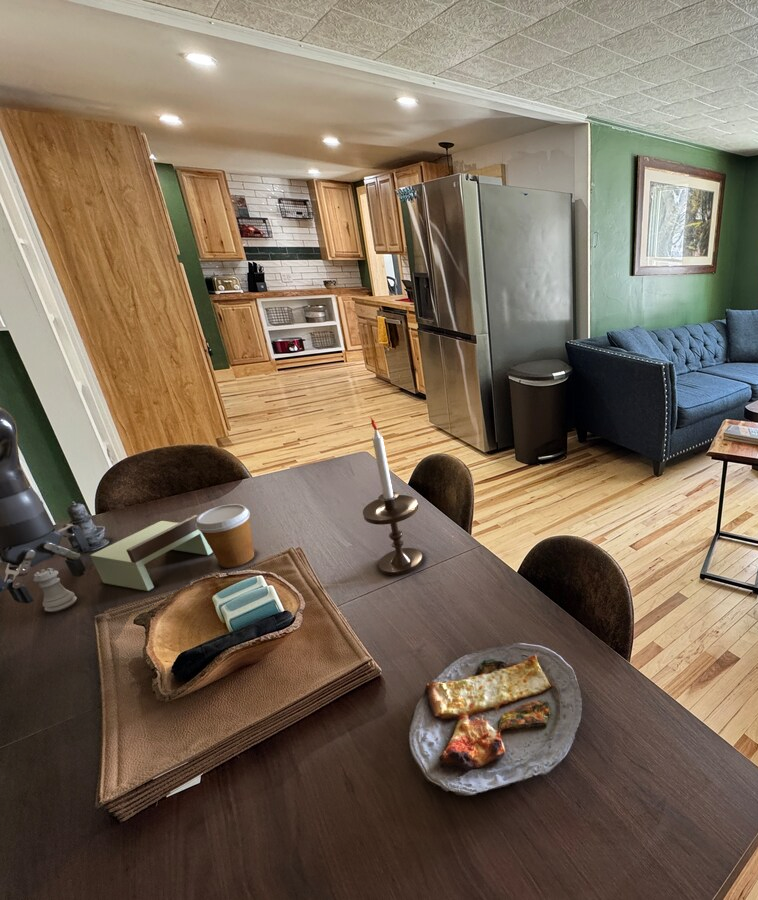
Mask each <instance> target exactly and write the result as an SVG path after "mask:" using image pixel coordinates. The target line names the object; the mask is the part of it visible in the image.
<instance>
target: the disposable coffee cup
mask: <svg viewBox="0 0 758 900" xmlns="http://www.w3.org/2000/svg"><path fill="white" fill-rule="evenodd" d="M198 515H199V516H198V517H197V523H196V528H197V529H198V530H199V531H201V532H202V534H203V536H204V538H205V539H206V541H207V543H208V544H209V546H210V548H211V549H212V552H213V555H214V556H215V559H216V560H217V561H218V563H219V566H220V567H222V568H235V567H240V566H242V565H244V564H246V563H248V562H249V561H251V560H252V559H253V558H254V557H255V551H254V544H253V537H252V536H253V535H252V530H251V529H252V528H251V523H250V515H251V511H250V510H249V509H248V508H247V507H246V506H245V505H243V504H240V503H229V504H223V505H219V506H216V507H213V508H210V509H207V510H206V511H204V512H202V513H200V514H198Z"/></svg>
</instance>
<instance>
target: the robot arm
mask: <svg viewBox="0 0 758 900" xmlns="http://www.w3.org/2000/svg"><path fill="white" fill-rule="evenodd" d="M17 428H18V427H17V424H16V421H15V419H14V417H13V416H12V415H11V414H10V413H9V412H8V411H7V410H5V409H4V408H2V407H0V564H1V563H2V562H3V563H6V564H7V565H6V568H5V570H4V573H5V575H4V576H5V577H4V579H3V577H2V576H1V575H0V593H4V592H6V591H8V592H9V594H10V596H11V598H12V599H13V601H15V602H17V603H21V604H30V603H32V602H34V599H33V597H32V595H31V593H30V592H29V590H28V589H27V586H26V585H24V584H23V582H24V580H25V578H26V576H27V575H28V574H29V571H30V569H31V568H33V567H35V566H37V565H39V564H40V563H42V562H43V561H48V560H50V559H52V558H54V556H55V555H56V556H58V557H61V558H64V559H65V560H64V562H65V564H66V566H67V568H68V570H69V571H70V574H71V576H74V577H77V578H80V577H82V576H84V575H85V572H86V566H85V565H84V562H83V561H82V558H81V557H82V555H83V554H84V553H88V552H87V551H89V549H90V547H89V545H88V543H87V541H86V539H85V537H84V535H83V533H82V531H81V529H80V527H79V526H76V525H73V524H71V523H67V524H64V525H63V526H62V528H59V529H57V530H56V529H55V525H54V523H53V521H52V519H51V517H50V515H49V514H48V512H47V510H46V509H47V508H45V506H44V502H43V501H42V499H41V498H40V496H39V495H38V493H37V492H36V491H35V489H34V488H33V487H32V485H31V483H30V481H29V479H28V477H27V476H26V474H25V472H24V470H23V468H22V465H21V462H20V455H19V445H18V442H19V441H18V429H17ZM63 537H64V538H67V539H68V542H69V544H70V545H71V547H72V549H68V548H65V547H63V546H60V543H61V540H62V538H63ZM89 552H90V551H89Z"/></svg>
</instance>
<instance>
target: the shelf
mask: <svg viewBox="0 0 758 900" xmlns="http://www.w3.org/2000/svg"><path fill="white" fill-rule="evenodd" d="M199 515H200V514H194V515H192V516H190V517H188V518H186V519H184V520H182V521H180V522H173V521H167V520H160V521H157V522H155V523H153V524H151V525H149V526H147V527H145V528H144V529H141V530H139V531H137V532H135V533H132V534H131V535H129V536H126V537H125V538H122V539H121V540H118V541H116V542H114V543H112V544H110V545H108V546H106V547H104V548H102V549H100V550H98V551H96V552H93V553H91V554H90V555H89V557H90V558H91V561H92V562H93V565H94V566H95V568H96V571H97V574H98V575H99V577H100V579H101V581H102V583H103V584H107V585H113V586H119V587H124V588H130V589H135V590H140V591H146V592H150V591H151V590H153V589H154V588H155V585H154V584H153V581H152V579H151V577H150V574H149V573H148V570H147V568H146V566H145V565H146V564H148V563H149V562H152V560H155V559H156V558H158V557H160V556H162V555H164V554H166V553H168V552H169V551H171V550H172V551H178V552H185V553H191V554H198V555H203V556H209V555H211V554H212V553H213V551H212V549H211V548H210V546H209V544H208V543H207V541H206V539H205V538H204V536H203V534H202V532H201V531H199V530H198V529H197V528H196V523H197V517H198V516H199ZM213 554H214V553H213Z"/></svg>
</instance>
